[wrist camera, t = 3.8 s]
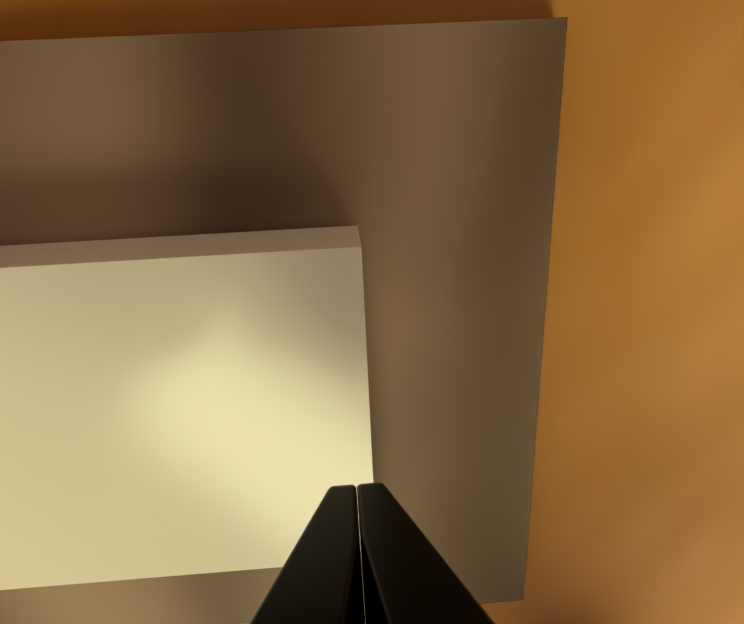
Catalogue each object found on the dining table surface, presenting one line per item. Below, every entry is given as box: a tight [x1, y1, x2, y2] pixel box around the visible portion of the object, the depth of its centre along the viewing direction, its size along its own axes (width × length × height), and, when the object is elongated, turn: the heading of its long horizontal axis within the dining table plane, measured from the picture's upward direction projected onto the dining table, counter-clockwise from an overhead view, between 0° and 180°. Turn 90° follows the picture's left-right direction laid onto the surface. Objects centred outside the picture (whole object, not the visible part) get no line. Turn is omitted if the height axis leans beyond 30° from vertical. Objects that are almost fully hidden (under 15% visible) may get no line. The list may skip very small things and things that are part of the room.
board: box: [0, 17, 568, 624], centre depth 13 cm, size 14×14×1 cm
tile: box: [0, 225, 373, 590], centre depth 12 cm, size 2×7×8 cm
